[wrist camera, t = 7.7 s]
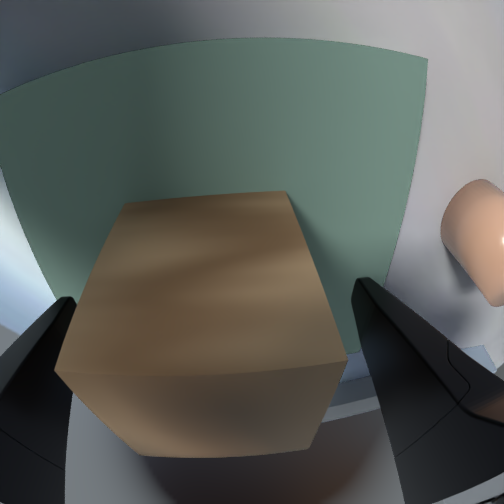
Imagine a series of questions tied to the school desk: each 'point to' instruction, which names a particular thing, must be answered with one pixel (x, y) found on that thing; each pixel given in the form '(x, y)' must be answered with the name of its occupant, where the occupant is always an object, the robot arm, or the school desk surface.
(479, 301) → the school desk surface
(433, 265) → the school desk surface
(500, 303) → the peach rounded cylinder
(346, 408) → the gray rectangular block
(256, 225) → the walnut block
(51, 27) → the school desk surface
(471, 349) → the eraser block
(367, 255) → the mat
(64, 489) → the robot arm
